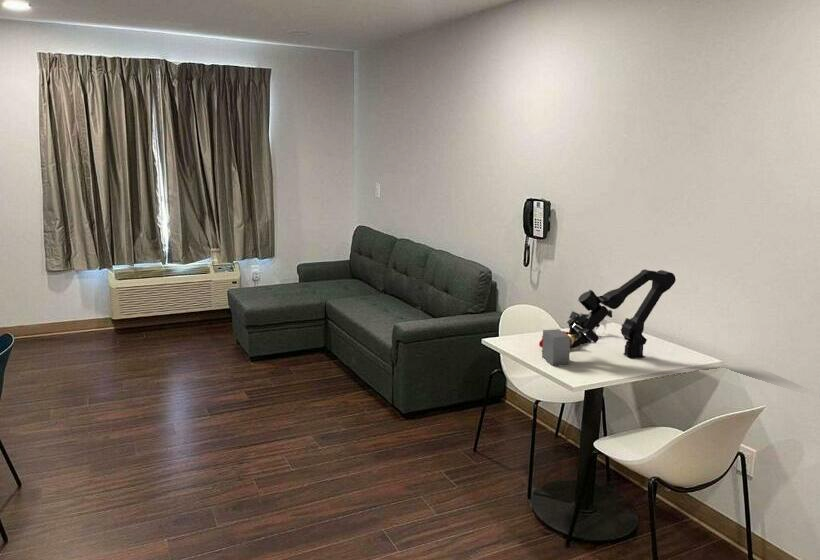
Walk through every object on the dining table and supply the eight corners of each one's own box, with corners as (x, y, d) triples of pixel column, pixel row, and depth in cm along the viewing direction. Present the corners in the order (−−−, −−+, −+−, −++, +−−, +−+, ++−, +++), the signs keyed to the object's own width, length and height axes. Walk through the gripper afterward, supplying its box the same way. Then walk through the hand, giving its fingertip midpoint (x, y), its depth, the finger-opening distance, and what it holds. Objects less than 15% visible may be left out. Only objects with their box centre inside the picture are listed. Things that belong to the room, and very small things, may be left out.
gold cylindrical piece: (572, 346, 265) (573, 332, 264) (579, 350, 259) (579, 336, 258) (554, 347, 264) (555, 333, 263) (560, 351, 258) (561, 337, 257)
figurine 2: (597, 340, 297) (612, 329, 300) (589, 319, 293) (604, 308, 295) (586, 336, 304) (601, 325, 307) (578, 315, 300) (593, 305, 302)
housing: (557, 356, 268) (558, 329, 265) (568, 365, 257) (570, 336, 255) (542, 357, 266) (543, 330, 264) (552, 366, 256) (553, 337, 253)
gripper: (572, 300, 268) (546, 326, 268) (593, 310, 250) (565, 338, 250) (588, 317, 271) (563, 343, 271) (610, 328, 253) (583, 356, 253)
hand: (568, 345), depth 261 cm, fingers closed on gold cylindrical piece, 6 cm apart
